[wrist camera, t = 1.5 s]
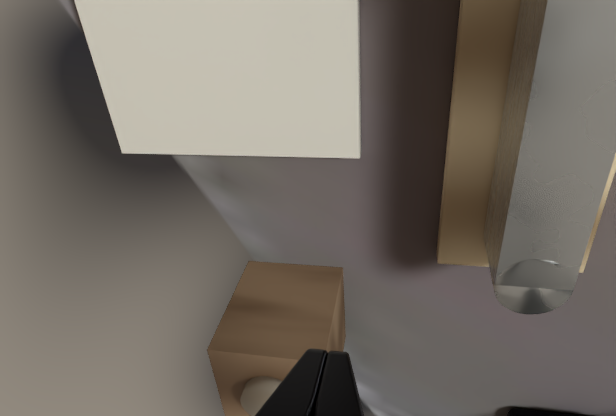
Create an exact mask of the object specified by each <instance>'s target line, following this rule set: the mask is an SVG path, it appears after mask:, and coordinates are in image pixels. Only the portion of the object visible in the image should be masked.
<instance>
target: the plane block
mask: <svg viewBox="0 0 616 416" xmlns="http://www.w3.org/2000/svg"><path fill="white" fill-rule="evenodd" d="M520 3H521V0H461V2H460V12H459V23H458V33H457V44H456V54H455V65H454V75H453V86H452V96H451V107H450V117H449V128H448V138H447V149H446V159H445V170H444V180H443V191H442V201H441V212H440V222H439V233H438V243H437V260H438V264H453V265H469V266H485V267H489V263H488V258H487V253H486V248H485V243H484V229H485V223H486V217H487V210H488V204H489V198H490V191H491V185H492V179H493V173H494V166H495V160H496V154H497V147H498V141H499V135H500V128H501V122H502V116H503V110H504V103H505V97H506V91H507V84H508V78H509V72H510V65H511V59H512V53H513V47H514V40H515V34H516V28H517V21H518V15H519V9H520ZM615 170H616V154H615V157H614V160H613V163H612V167H611V170H610V173H609V176H608V180H607V183H606V186H605V189H604V192H603V196H602V199H601V202H600V205H599V209H598V212H597V215H596V218H595V222H594V225H593V228H592V231H591V235H590V238H589V241H588V244H587V248H586V251H585V254H584V257H583V260H582V264H581V267H580V270H579V273H583V272H584V269H585V265H586V262H587V259H588V256H589V253H590V250H591V246H592V243H593V240H594V237H595V234H596V231H597V227H598V224H599V221H600V218H601V215H602V212H603V208H604V205H605V202H606V199H607V196H608V192H609V189H610V186H611V183H612V180H613V177H614V173H615Z"/></svg>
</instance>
